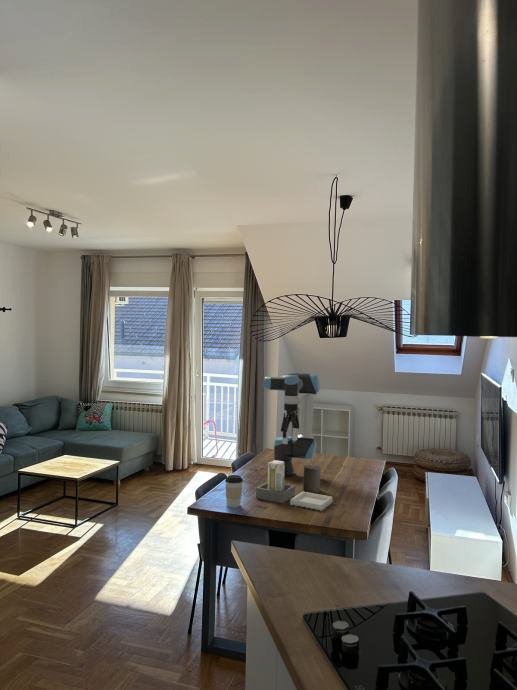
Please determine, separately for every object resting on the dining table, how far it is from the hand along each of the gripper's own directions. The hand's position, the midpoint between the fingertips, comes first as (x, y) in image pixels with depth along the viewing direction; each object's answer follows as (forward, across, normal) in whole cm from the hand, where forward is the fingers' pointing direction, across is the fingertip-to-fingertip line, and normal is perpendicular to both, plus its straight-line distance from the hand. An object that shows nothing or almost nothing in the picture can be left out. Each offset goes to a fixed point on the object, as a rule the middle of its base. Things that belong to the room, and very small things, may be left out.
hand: (289, 441), depth 270 cm
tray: (+29, -8, -16) cm, 34 cm away
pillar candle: (+29, +15, -8) cm, 34 cm away
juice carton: (+29, -7, +5) cm, 31 cm away
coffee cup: (+30, -31, +17) cm, 46 cm away
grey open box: (+29, -7, +5) cm, 30 cm away
